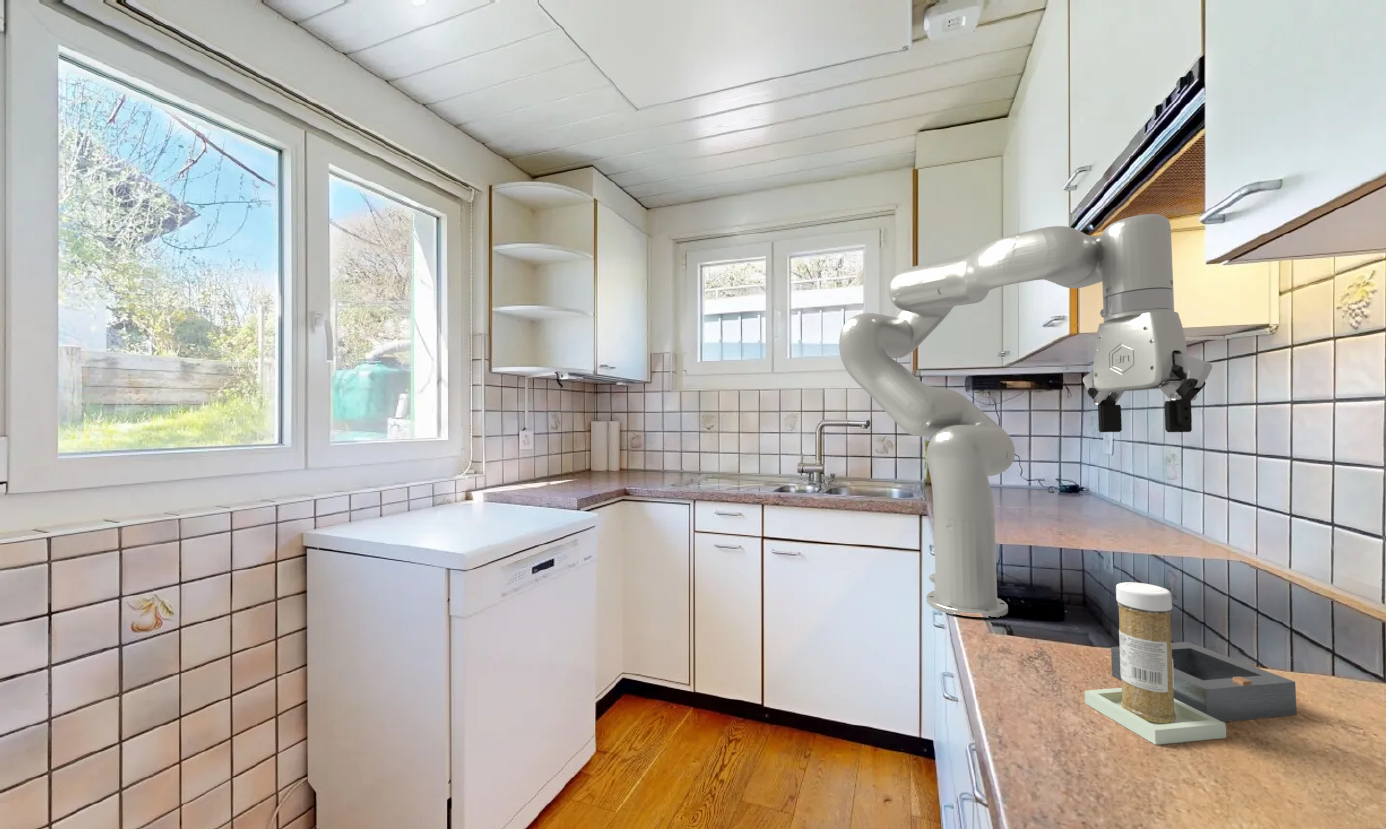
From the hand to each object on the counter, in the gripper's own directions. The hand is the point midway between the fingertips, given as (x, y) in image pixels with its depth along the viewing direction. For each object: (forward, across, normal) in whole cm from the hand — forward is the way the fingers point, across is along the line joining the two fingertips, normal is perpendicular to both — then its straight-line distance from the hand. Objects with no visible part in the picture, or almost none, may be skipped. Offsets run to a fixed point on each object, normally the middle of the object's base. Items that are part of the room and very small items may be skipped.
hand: (1142, 432), depth 73 cm
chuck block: (+30, +10, -5) cm, 32 cm away
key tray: (+30, +14, -16) cm, 37 cm away
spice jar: (+30, +14, -16) cm, 36 cm away
